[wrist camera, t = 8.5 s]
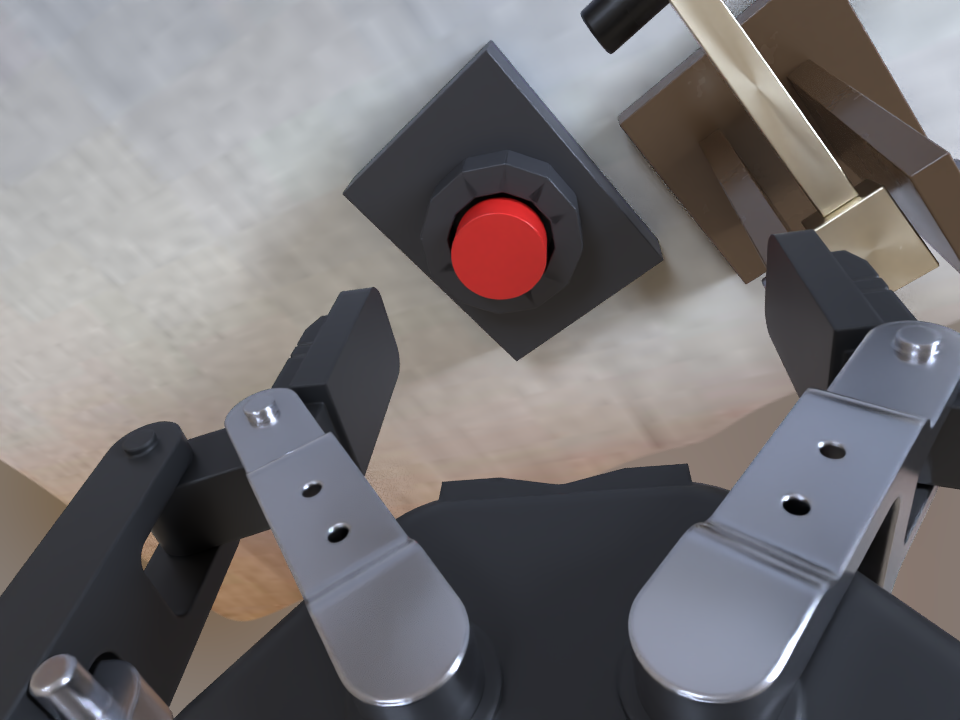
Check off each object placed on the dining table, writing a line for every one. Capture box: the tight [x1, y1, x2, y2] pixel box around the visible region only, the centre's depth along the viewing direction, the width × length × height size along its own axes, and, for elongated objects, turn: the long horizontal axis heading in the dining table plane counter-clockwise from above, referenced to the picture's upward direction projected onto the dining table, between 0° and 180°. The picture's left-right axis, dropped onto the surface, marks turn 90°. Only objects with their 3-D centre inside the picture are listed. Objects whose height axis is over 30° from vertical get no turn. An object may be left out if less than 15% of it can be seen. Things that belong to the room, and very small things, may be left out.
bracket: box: [618, 0, 960, 289], centre depth 24 cm, size 10×9×13 cm
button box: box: [343, 41, 663, 361], centre depth 31 cm, size 12×9×4 cm
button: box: [451, 197, 547, 300], centre depth 29 cm, size 4×4×2 cm
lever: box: [581, 0, 939, 292], centre depth 20 cm, size 12×5×2 cm, turn 44°
